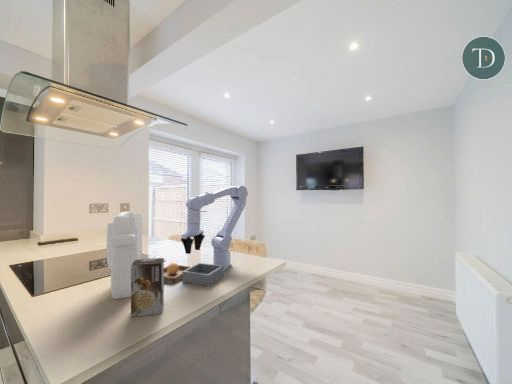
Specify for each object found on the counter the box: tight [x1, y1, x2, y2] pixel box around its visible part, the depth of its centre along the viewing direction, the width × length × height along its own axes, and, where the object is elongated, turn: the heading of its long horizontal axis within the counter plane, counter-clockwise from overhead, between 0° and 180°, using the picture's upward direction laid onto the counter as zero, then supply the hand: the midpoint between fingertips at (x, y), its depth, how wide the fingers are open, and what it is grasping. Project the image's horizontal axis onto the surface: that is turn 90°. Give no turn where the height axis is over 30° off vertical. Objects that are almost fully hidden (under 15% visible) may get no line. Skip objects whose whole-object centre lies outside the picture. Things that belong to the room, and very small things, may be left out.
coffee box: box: [130, 257, 165, 318], centre depth 73 cm, size 9×6×16 cm
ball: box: [167, 262, 179, 274], centre depth 104 cm, size 5×5×5 cm
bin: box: [181, 262, 224, 287], centre depth 101 cm, size 13×13×4 cm
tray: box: [164, 264, 191, 285], centre depth 104 cm, size 15×13×2 cm
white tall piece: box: [106, 211, 143, 300], centre depth 90 cm, size 27×11×30 cm, turn 21°
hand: (192, 251), depth 107 cm, fingers open, 7 cm apart
